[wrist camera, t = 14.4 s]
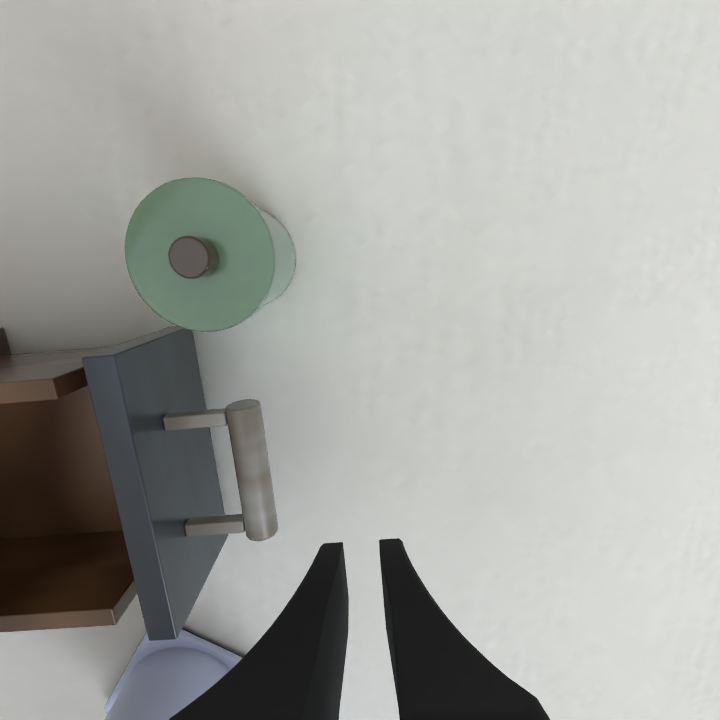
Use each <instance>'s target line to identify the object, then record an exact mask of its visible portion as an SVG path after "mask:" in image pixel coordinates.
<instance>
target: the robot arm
mask: <svg viewBox="0 0 720 720" xmlns="http://www.w3.org/2000/svg"><path fill="white" fill-rule="evenodd" d="M379 544H380V561H381V573H382V585H383V596H384V608H385V620H386V630H387V637H388V643H389V650H390V656H391V662H392V669H393V675H394V681H395V688H396V694H397V700H398V707H399V715H400V720H550V719H549V717H548V715H547V714H546V712H545V711H544V709H543V707H542V706H541V704H540V703H539V701H538V699H537V698H536V697H535V696H533V695H532V694H530V693H529V692H528V691H526V690H525V689H524V688H522V687H521V686H519V685H518V684H517V683H515V682H514V681H512V680H511V679H510V678H508V677H507V676H506V675H505V674H503V673H502V672H501V671H500V670H499V669H497V668H496V667H495V666H494V665H493V664H492V663H490V662H489V661H488V660H487V659H486V658H485V657H484V656H483V655H482V654H481V653H480V652H479V651H478V650H477V649H476V648H475V647H474V646H473V645H472V644H471V643H470V642H469V641H468V640H467V639H466V638H465V637H464V636H463V635H462V634H461V633H460V632H459V631H458V629H457V628H456V627H455V626H454V625H453V624H452V623H451V621H450V620H449V619H448V618H447V617H446V615H445V614H444V613H443V611H442V610H441V609H440V607H439V606H438V605H437V603H436V602H435V601H434V599H433V598H432V596H431V595H430V594H429V592H428V590H427V589H426V587H425V586H424V584H423V583H422V581H421V579H420V578H419V576H418V574H417V573H416V571H415V569H414V567H413V565H412V564H411V562H410V560H409V558H408V555H407V553H406V551H405V548H404V546H403V542H402V541H401V540H400V539H399V538H398V539H383V540H379ZM348 604H349V597H348V588H347V578H346V569H345V559H344V550H343V542H339V543H325V544H323V545H322V546H321V547H320V549H319V551H318V553H317V555H316V557H315V559H314V561H313V563H312V565H311V567H310V569H309V570H308V572H307V574H306V576H305V577H304V579H303V581H302V582H301V584H300V586H299V587H298V589H297V591H296V592H295V594H294V595H293V597H292V598H291V599H290V601H289V602H288V604H287V605H286V607H285V608H284V610H283V611H282V612H281V614H280V615H279V617H278V618H277V619H276V620H275V622H274V623H273V624H272V626H271V627H270V628H269V629H268V630H267V632H266V633H265V634H264V635H263V636H262V638H261V639H260V640H259V641H258V642H257V643H256V644H255V645H254V647H253V648H252V649H251V650H250V651H249V652H248V653H247V654H246V655H245V656H244V657H240V656H238V655H236V654H234V653H232V652H230V651H228V650H225V649H223V648H221V647H219V646H217V645H215V644H212V643H210V642H208V641H206V640H204V639H202V638H200V637H197V636H195V635H193V634H191V633H189V632H187V631H185V630H181V632H180V634H179V636H178V638H177V639H173V640H157V641H149V639H148V635H147V632H146V634H145V636H144V638H143V639H142V641H141V643H140V645H139V646H138V648H137V650H136V652H135V654H134V655H133V657H132V659H131V661H130V662H129V664H128V666H127V668H126V669H125V671H124V673H123V675H122V677H121V678H120V680H119V682H118V684H117V685H116V687H115V689H114V691H113V693H112V694H111V696H110V698H109V700H108V701H107V703H106V705H105V711H106V712H107V713H108V715H107V716H106V718H105V720H339V708H340V699H341V690H342V682H343V673H344V664H345V656H346V647H347V637H348Z"/></svg>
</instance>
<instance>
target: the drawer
mask: <svg viewBox="0 0 720 720" xmlns="http://www.w3.org/2000/svg"><path fill="white" fill-rule="evenodd" d="M227 424H228V427H229V434H230V440H231V446H232V452H233V458H234V464H235V470H236V476H237V482H238V488H239V494H240V500H241V506H242V513H243V514H236V515H225V514H224V509H223V503H222V497H221V491H220V486H219V480H218V474H217V469H216V463H215V457H214V452H213V446H212V440H211V434H210V429H209V427H217V426H226V425H227ZM277 530H278V523H277V516H276V509H275V502H274V495H273V488H272V482H271V475H270V468H269V461H268V454H267V447H266V440H265V433H264V426H263V419H262V412H261V406H260V402H259V401H258V400H252V399H247V400H240V401H236V402H233V403H231V404H229V405H227V406H226V408H225V409H212V410H206V406H205V400H204V395H203V389H202V383H201V377H200V372H199V366H198V360H197V355H196V349H195V343H194V338H193V332H192V330H188V329H185V328H182V327H179V326H177V327H168V328H165V329H162V330H159V331H156V332H154V333H151V334H148V335H145V336H142V337H139V338H136V339H133V340H130V341H128V342H125V343H122V344H119V345H116V346H113V347H103V348H90V349H78V350H66V351H54V352H42V353H30V354H18V355H6V356H0V632H13V631H28V630H44V629H59V628H75V627H90V626H106V625H116V624H117V622H118V621H119V619H120V618H121V616H122V615H123V613H124V612H125V610H126V609H127V607H128V606H129V604H130V603H131V601H132V600H133V599H134V597H135V596H136V594H137V593H138V597H139V601H140V606H141V610H142V614H143V618H144V622H145V627H146V631H147V635H148V639H149V641H157V640H173V639H177V638H178V636H179V634H180V632H181V630H182V628H183V626H184V624H185V622H186V620H187V618H188V616H189V614H190V612H191V610H192V607H193V605H194V603H195V601H196V599H197V597H198V595H199V593H200V591H201V589H202V587H203V585H204V583H205V581H206V579H207V577H208V575H209V573H210V571H211V569H212V567H213V565H214V563H215V561H216V559H217V557H218V555H219V553H220V551H221V549H222V547H223V545H224V543H225V541H226V539H227V536H228V534H229V533H243V532H244V531H246V536H247V537H248V538H249V539H250V540H253V541H262V540H266V539H268V538H270V537H272V536H273V535H275V533H276V532H277Z"/></svg>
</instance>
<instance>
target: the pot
mask: <svg viewBox="0 0 720 720" xmlns="http://www.w3.org/2000/svg"><path fill="white" fill-rule="evenodd" d="M125 257H126V263H127V268H128V271H129V274H130V278H131V280H132V282H133V284H134V286H135V288H136V290H137V291H138V293H139V295H140V296H141V297H142V299H143V300H144V301H145V303H146V304H147V305H148V306H149V307H150V308H151V309H152V310H153V311H154V312H156V313H157V314H158V315H159V316H161V317H162V318H164V319H165V320H167V321H168V322H170V323H172V324H175V325H177V326H179V327H182V328H185V329H188V330H194V331H202V332H211V331H219V330H224V329H227V328H230V327H233V326H235V325H237V324H239V323H241V322H243V321H245V320H246V319H248V318H249V317H251V316H252V315H253V314H254V313H255V312H256V311H258V310H259V308H260V307H261V306H263V305H265V304H267V303H269V302H271V301H273V300H275V299H276V298H278V297H279V296H280V295H281V294H282V293H283V292H284V291H285V290H286V289H287V287H288V286H289V284H290V282H291V280H292V278H293V275H294V272H295V266H296V255H295V249H294V245H293V242H292V239H291V237H290V235H289V233H288V232H287V230H286V229H285V227H284V226H283V225H282V224H281V223H280V222H279V221H278V220H277V219H276V218H274V217H273V216H271V215H270V214H268V213H266V212H264V211H262V210H260V209H258V208H257V207H256V206H255V205H254V204H253V203H252V202H251V201H250V200H249V199H248V198H247V197H246V196H244V195H243V194H241V193H240V192H238V191H237V190H235V189H233V188H231V187H229V186H227V185H225V184H223V183H220V182H218V181H215V180H210V179H206V178H195V177H193V178H182V179H177V180H173V181H171V182H168V183H165V184H163V185H162V186H160V187H158V188H156V189H155V190H153V191H152V192H151V193H150V194H148V195H147V196H146V197H145V198H144V199H143V200H142V201H141V203H140V204H139V206H138V207H137V208H136V210H135V212H134V214H133V216H132V217H131V220H130V223H129V225H128V229H127V233H126V240H125Z"/></svg>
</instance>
